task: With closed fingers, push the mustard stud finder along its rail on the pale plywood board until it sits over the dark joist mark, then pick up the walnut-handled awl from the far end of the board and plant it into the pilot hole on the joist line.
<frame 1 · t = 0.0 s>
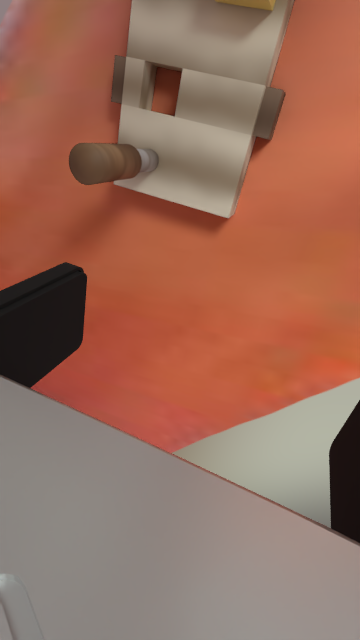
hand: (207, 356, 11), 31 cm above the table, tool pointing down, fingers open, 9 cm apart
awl: (149, 160, 37), point 3 cm above the table, touching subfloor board
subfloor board: (203, 70, 34), on the table
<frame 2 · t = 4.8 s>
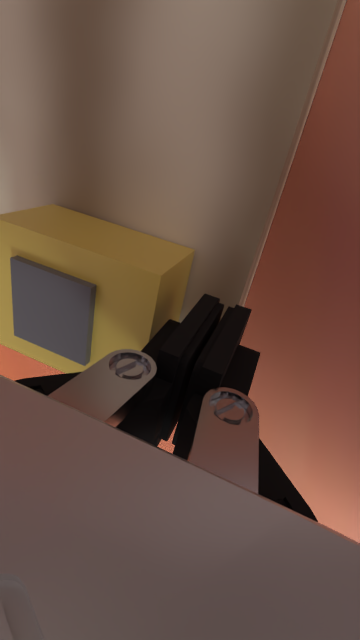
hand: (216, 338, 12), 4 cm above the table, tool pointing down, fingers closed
stud finder: (90, 300, 13), point 5 cm above the table, slide at 0.0 cm, touching gripper
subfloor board: (18, 149, 16), on the table
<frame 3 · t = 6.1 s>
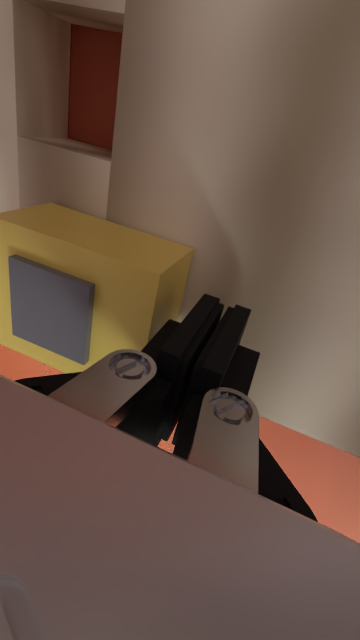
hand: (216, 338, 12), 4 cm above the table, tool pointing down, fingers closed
stud finder: (89, 299, 13), point 5 cm above the table, slide at 7.4 cm, touching gripper
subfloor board: (154, 187, 15), on the table
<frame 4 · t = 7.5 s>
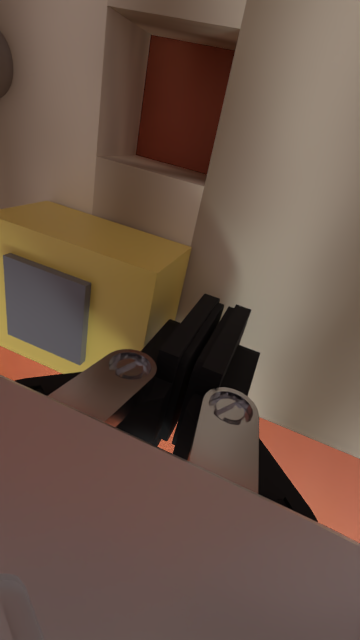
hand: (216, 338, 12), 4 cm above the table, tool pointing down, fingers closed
stud finder: (85, 298, 12), point 5 cm above the table, slide at 10.9 cm, touching gripper
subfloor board: (231, 208, 14), on the table
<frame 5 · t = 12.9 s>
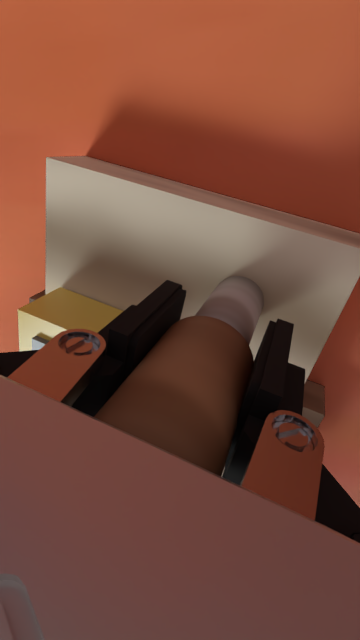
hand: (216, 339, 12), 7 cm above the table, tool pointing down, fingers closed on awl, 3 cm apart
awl: (238, 300, 15), point 3 cm above the table, touching gripper, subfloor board
stud finder: (79, 365, 18), point 5 cm above the table, slide at 10.9 cm
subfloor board: (164, 387, 23), on the table
when the fingers open (4 cm above the table, at t = 19.0 s): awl stays where it is, resting in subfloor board.
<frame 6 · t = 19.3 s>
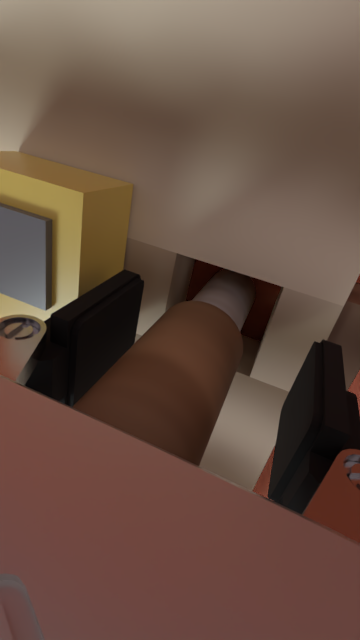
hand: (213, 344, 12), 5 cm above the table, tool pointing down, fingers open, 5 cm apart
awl: (231, 291, 16), resting in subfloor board
stud finder: (41, 256, 13), point 5 cm above the table, slide at 11.0 cm, touching gripper
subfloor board: (162, 315, 18), on the table
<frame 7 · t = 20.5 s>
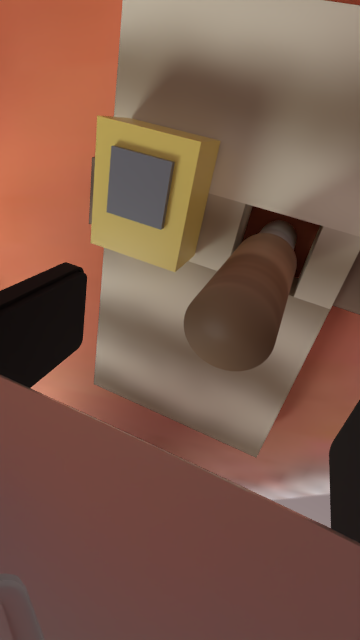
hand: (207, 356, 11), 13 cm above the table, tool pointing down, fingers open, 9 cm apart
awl: (277, 238, 21), resting in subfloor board
stud finder: (150, 194, 17), point 5 cm above the table, slide at 11.5 cm
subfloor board: (220, 260, 23), on the table
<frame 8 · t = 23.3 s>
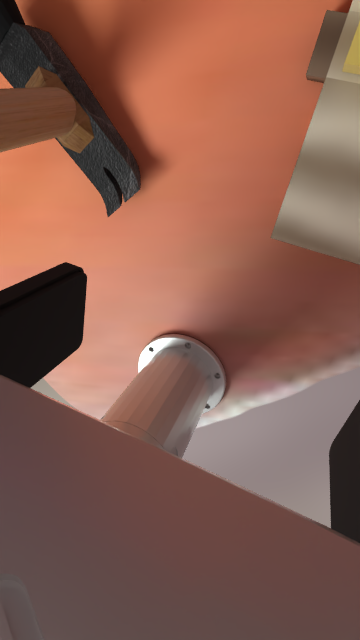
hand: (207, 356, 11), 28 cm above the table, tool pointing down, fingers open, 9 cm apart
hammer: (85, 116, 38), on the table
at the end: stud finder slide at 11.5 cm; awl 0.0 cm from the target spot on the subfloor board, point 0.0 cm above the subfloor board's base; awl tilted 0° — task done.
